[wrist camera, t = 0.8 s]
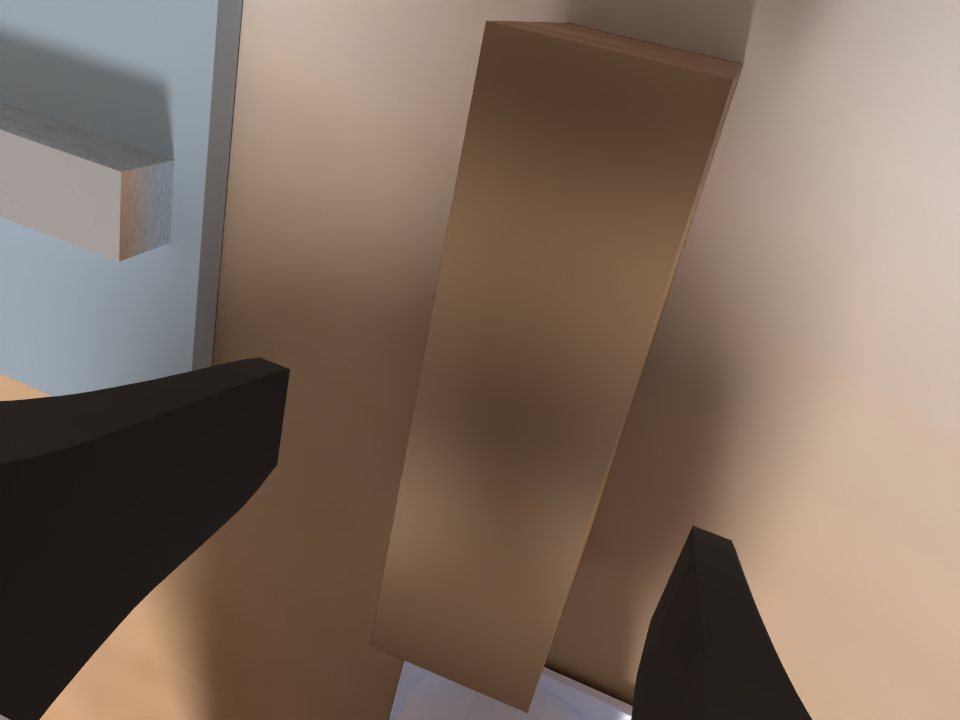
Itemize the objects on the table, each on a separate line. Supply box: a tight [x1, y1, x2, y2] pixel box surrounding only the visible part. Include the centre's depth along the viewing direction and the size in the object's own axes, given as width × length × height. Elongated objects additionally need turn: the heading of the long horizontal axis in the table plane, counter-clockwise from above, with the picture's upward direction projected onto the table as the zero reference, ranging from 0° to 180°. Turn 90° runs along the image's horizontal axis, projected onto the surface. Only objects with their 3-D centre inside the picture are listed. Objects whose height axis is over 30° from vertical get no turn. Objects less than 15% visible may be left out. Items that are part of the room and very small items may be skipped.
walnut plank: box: [370, 21, 743, 713], centre depth 18 cm, size 14×4×6 cm, turn 168°
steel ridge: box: [0, 101, 174, 261], centre depth 22 cm, size 2×7×2 cm, turn 77°
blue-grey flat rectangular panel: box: [0, 0, 242, 396], centre depth 23 cm, size 16×9×1 cm, turn 166°
